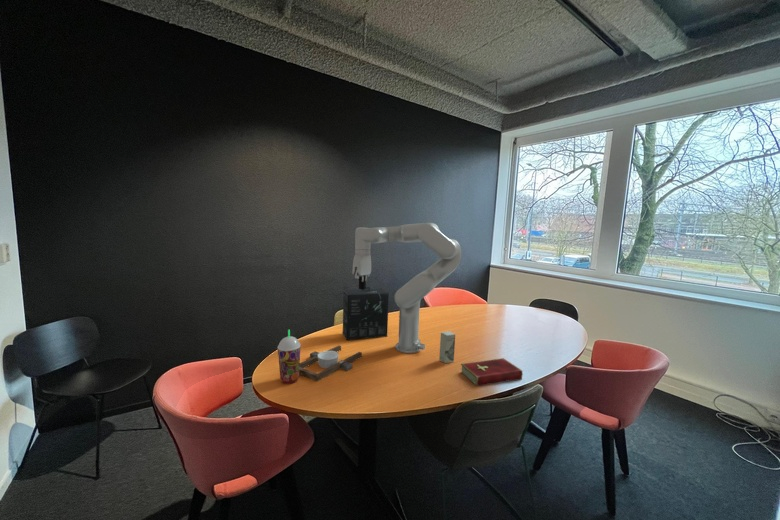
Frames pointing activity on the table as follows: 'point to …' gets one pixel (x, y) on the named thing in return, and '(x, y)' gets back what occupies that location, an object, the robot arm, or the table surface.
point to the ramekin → (327, 359)
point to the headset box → (365, 313)
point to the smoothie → (289, 359)
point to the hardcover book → (491, 371)
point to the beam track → (341, 364)
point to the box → (447, 347)
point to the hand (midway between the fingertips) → (362, 288)
